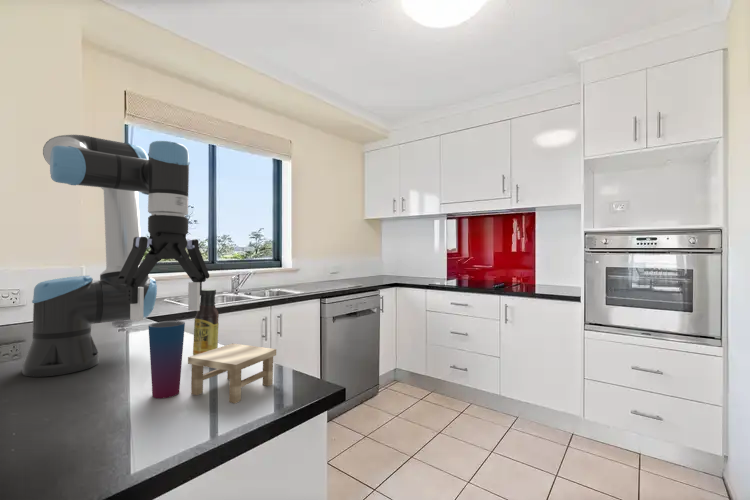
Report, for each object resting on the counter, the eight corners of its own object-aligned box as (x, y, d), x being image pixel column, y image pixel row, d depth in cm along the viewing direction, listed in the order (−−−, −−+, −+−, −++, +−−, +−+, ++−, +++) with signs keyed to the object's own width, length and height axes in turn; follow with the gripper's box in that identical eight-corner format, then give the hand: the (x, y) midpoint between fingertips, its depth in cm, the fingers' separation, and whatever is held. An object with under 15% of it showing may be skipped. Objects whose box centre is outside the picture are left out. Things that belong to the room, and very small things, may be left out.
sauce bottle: (187, 361, 102) (188, 289, 102) (205, 355, 108) (206, 287, 108) (205, 364, 100) (206, 290, 100) (223, 358, 106) (223, 288, 106)
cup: (168, 401, 75) (169, 327, 75) (139, 398, 77) (140, 326, 77) (191, 389, 82) (191, 321, 82) (164, 387, 83) (165, 320, 83)
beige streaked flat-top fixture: (187, 394, 79) (188, 357, 79) (232, 376, 91) (232, 343, 91) (235, 404, 74) (236, 364, 74) (275, 383, 86) (276, 349, 86)
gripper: (121, 208, 66) (120, 326, 66) (225, 220, 90) (224, 308, 89) (94, 209, 69) (93, 323, 69) (202, 221, 92) (201, 306, 92)
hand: (167, 315), depth 79 cm, fingers open, 13 cm apart
